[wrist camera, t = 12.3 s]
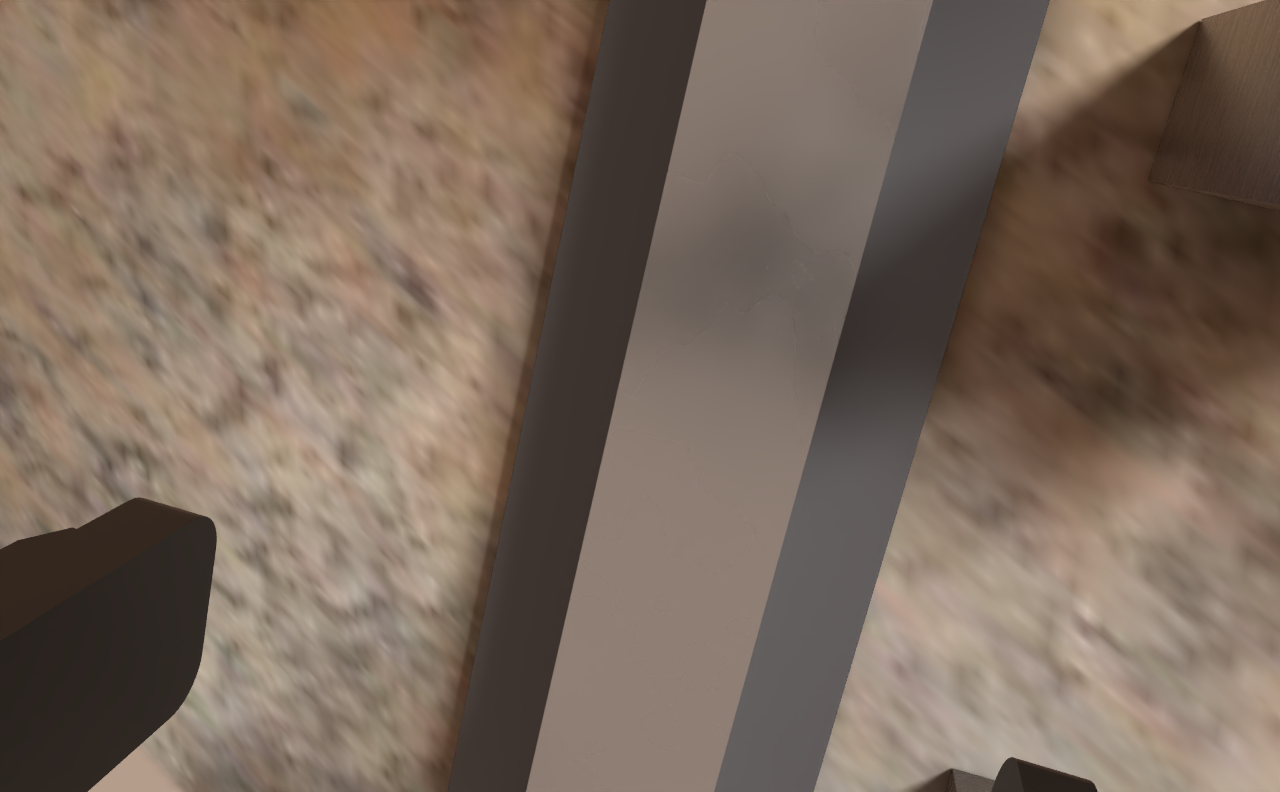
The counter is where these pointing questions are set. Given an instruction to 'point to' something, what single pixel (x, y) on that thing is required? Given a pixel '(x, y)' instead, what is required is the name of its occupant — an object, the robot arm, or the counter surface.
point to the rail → (723, 383)
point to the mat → (849, 414)
